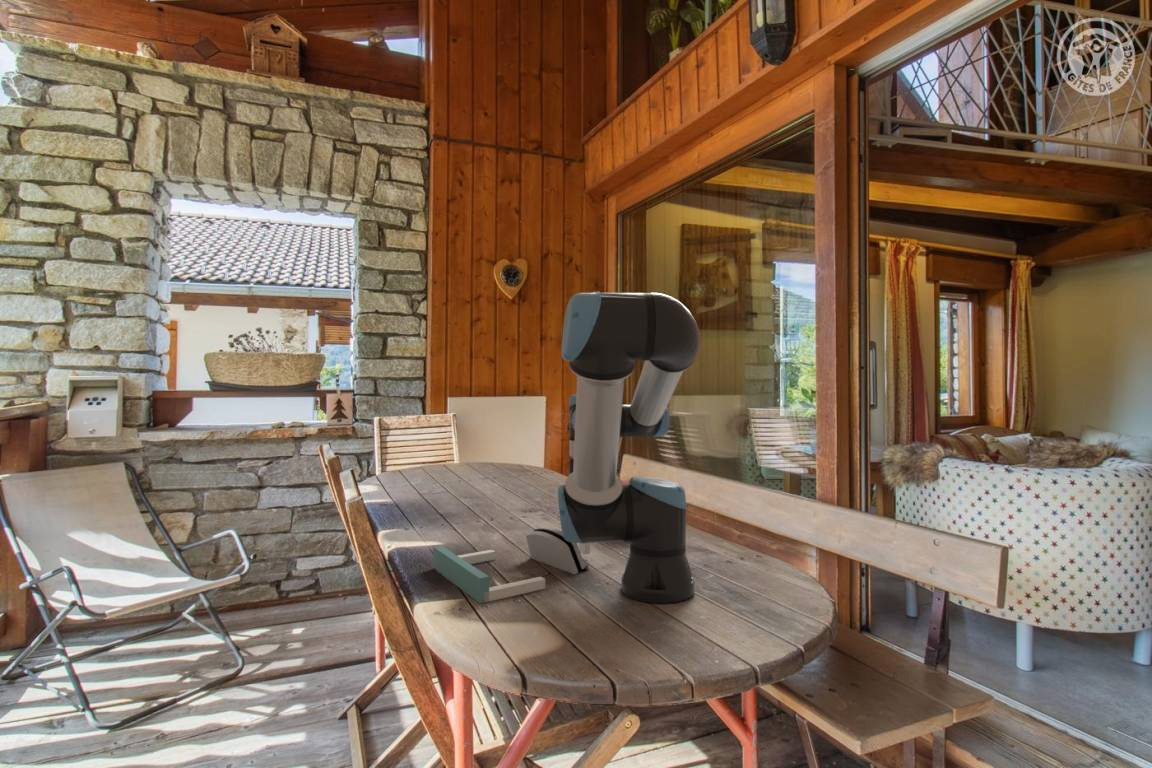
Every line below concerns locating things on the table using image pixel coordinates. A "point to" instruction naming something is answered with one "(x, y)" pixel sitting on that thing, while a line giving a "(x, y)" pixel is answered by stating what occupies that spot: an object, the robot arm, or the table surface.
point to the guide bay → (478, 575)
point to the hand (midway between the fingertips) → (584, 552)
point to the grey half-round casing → (555, 550)
